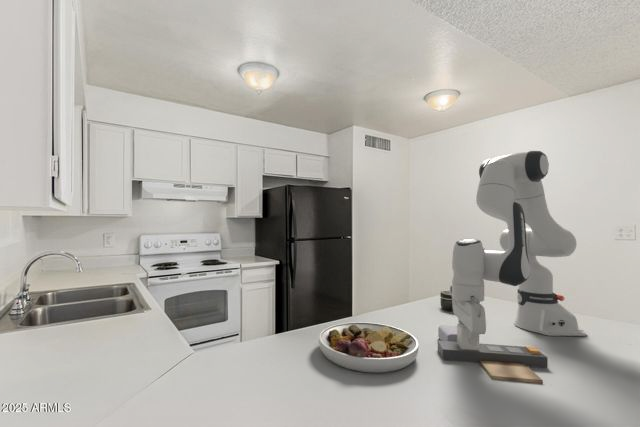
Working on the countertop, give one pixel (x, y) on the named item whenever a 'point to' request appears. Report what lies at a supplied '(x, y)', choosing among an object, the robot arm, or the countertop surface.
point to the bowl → (368, 346)
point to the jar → (446, 300)
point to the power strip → (493, 354)
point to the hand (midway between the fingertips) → (467, 338)
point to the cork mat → (510, 371)
